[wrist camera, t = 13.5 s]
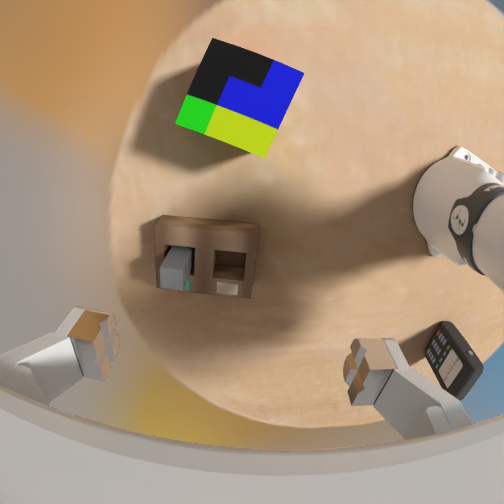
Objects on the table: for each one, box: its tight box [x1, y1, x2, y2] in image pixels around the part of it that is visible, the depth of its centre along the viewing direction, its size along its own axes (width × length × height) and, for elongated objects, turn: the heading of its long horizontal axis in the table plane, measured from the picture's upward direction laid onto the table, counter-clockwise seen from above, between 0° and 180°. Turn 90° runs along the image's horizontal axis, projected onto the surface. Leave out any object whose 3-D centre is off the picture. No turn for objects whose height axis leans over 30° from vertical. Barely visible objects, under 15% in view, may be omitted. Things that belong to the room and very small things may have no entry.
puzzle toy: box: [175, 38, 304, 158], centre depth 32 cm, size 10×10×10 cm
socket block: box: [155, 215, 259, 299], centre depth 44 cm, size 14×10×4 cm
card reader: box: [425, 321, 484, 401], centre depth 47 cm, size 9×4×15 cm, turn 172°
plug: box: [160, 245, 195, 291], centre depth 42 cm, size 3×3×9 cm
